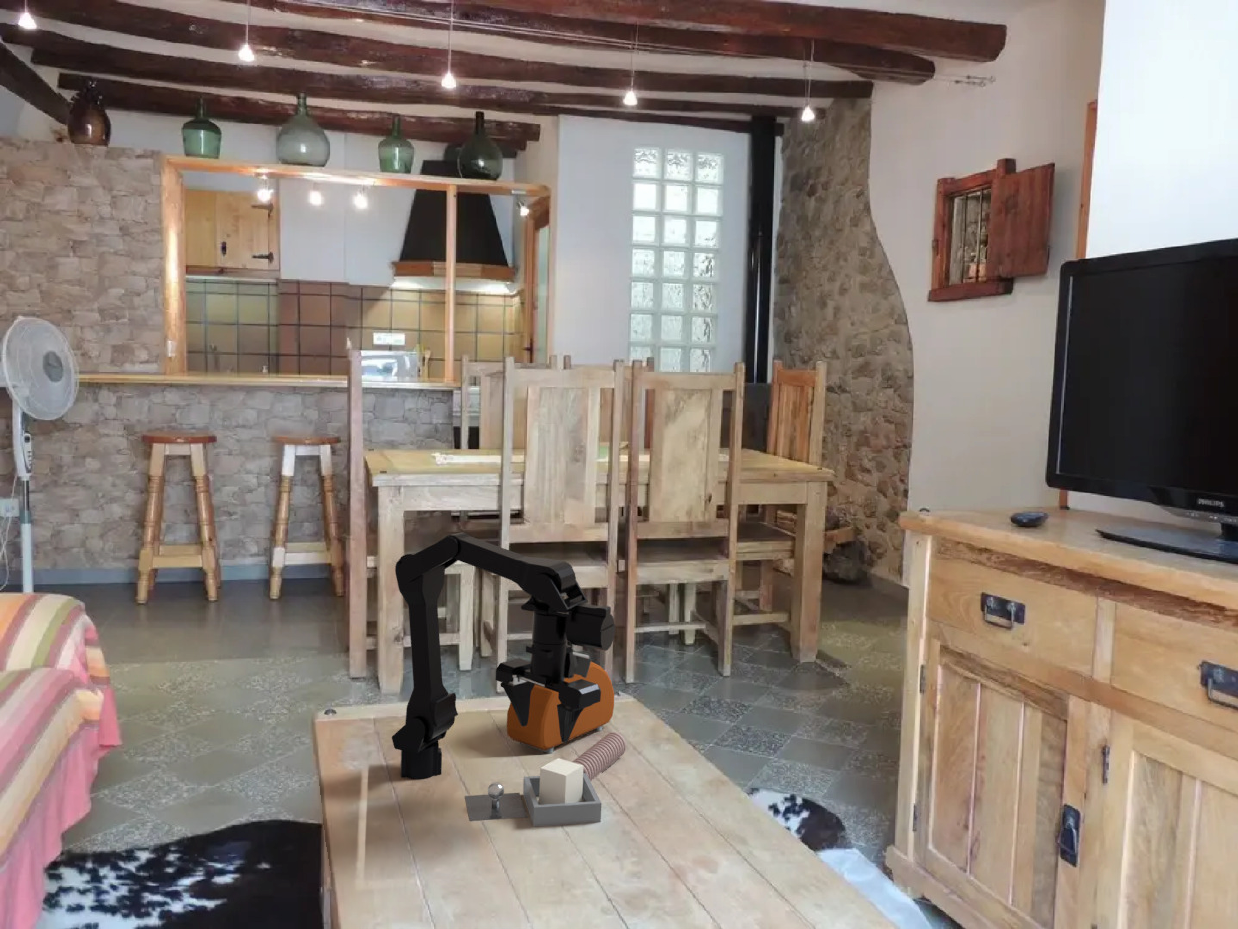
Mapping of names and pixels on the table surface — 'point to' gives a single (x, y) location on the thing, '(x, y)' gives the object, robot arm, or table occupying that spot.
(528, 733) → the orange grey rounded block
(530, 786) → the bin
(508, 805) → the stud plate
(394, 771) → the table surface
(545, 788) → the cream rectangular block
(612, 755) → the coil
